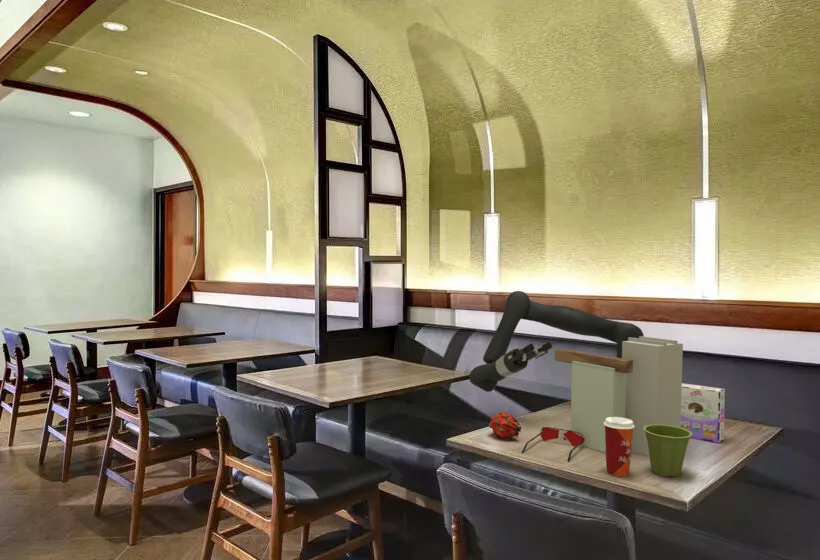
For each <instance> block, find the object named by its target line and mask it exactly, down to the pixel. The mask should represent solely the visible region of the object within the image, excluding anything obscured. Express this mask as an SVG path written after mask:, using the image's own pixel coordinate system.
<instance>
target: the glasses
mask: <svg viewBox="0 0 820 560" xmlns="http://www.w3.org/2000/svg"><path fill="white" fill-rule="evenodd" d="M560 431H565V432H564V433H563V434H562V435H563V436H564V437H563V441H568V442H569V443H570V445H572V446H573V448H571V449H570V451H569V454H568V457H567V461H568V462H567V461H566V462H567V463H570V461H571V457H572V453H573V452H574V450H576V448H578V447H579V446H582V445H581V444H584V441H585V439H584V438H583V436H582V435H581V434H580V433H579V434H580V435H581V436H582V437H581V436H580V435H578V434H576V433H578V432H576V433H574V431H571V429H570V430H569V429H568V430H567V429H562V428H561V429H560V428H556V427H549V426H543V427H542V428H541V429H540V433H538V434H537V435H535V436H534V437H532V438H530V439H529V440H528V441H526V442H525V444H524V447H523V448H522V451H521V454H524V453H525V451H526V448H527V446H528V445H529V443H531V442H532V441H534V440H535V439H537V438H538V437H539V436H540V437H541V439H542V441H543V440H544V442H545V441H546V442H547V441H551V440H558V438H559V434H560Z"/></svg>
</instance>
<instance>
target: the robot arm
mask: <svg viewBox="0 0 820 560" xmlns="http://www.w3.org/2000/svg"><path fill="white" fill-rule="evenodd" d="M504 306H505V307H504V311H503V314H502V317H501V319H500V321H499V324H498V326H497V327H496V330H495V332H494V334H493V336H492V338H491V340H490V341H489V344H488V346H487V348H486V350H485V352H484V355H483V357H482V360H483V362H484V364H480V365H478V366H475V367H474V368H473V369H471V371H470V373H469V377H468V380H469V381H470V383H471V384H472V385H473V386H475V387H477V388H479V389H480V390H483V391H485V392H488V393H489V392H492V391H494V390H495V389H496V388H497V385H498V382H500V381H503V380H504V379H507V378H508V377H511V376H514V375H515V374H517V373H519V372H520V371H523V370H524V369H526V368H527V366H528V363H529V362H530V361H533V360H534V359H535V360H536V359H537V360H538V359H539V358H541V357H543V356H544V355H547V354H549V350H551V349H552V348H553V345H552V342H551V341H548V342H546V343H544V344H542V345H540V346H535V344H533V343H528V345H526V346H524V347H520V348H513V349H511V350H510V351H508V350H509V349H508V348H509V347H510V343H511V341H512V339H513V335H514V334H515V330H516V329H517V326H518V324H519V323H520V321H521V320H525V321H531V322H536V323H539V324H542V325H545V326H548V327H552V328H554V329H558V330H560V331H564V332H568V333H572V334H575V335H578V336H579V335H580V336H585V337H586V336H588V337H596V338H601V339H604V340H607V341H610V342H613V343H615V344H616V355H615V357H616V358H622V341H628V338H629V337H631V338H639V336H642V337H645V336H644V332H643V330H642V329H641V328H640V326H637V325H636V324H634V323H631V322H624V321H618V320H612V319H607V318H604V317H601V316H598V315H596V314H593V313H590V312H587V311H585V310H583V309H579V308H574V307H571V306H566V305H555V304H554V305H552V304H543V303H540V302H536V301H533V300H531V299H530V297H529V295H528V294H527V293H526V292H524V291H521V290H515V291H513V292H511V293H510V294H509V295H508V296H507V298H506V300H505V305H504ZM507 351H508V352H507Z"/></svg>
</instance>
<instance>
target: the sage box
mask: <svg viewBox="0 0 820 560" xmlns="http://www.w3.org/2000/svg"><path fill="white" fill-rule="evenodd" d="M570 394H571V395H570V396H571V397H570V400H571V401H570V403H571V404H570V430H571V431H574V433H576V432H578V433H576V434H578V435H580V434H581V435H582V436H583V438H584V439H585V441H584V444H581V445H580V446H582V445H583V447H585V448H589V449H592V450H596V451H598V452H602V453H604V454H606V444H605V425H604V422H605V419H606V418H608V417H622V418H625V406H626V373H620V372H615V368H610V367H604V366H599V365H593V364H588V363H582V362H576V361H572V363H571V393H570ZM579 433H580V434H579ZM581 435H580V436H581ZM582 436H581V437H582Z"/></svg>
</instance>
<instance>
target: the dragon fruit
mask: <svg viewBox="0 0 820 560" xmlns="http://www.w3.org/2000/svg"><path fill="white" fill-rule="evenodd" d="M488 428H490V429H491V430H492V433H493V436H494V437H500V438H502V439H504V440H505V441H512V440H513V439H512V438H511V437H516V438H517V437H519V435H520V433H522V431H521V430H522V426H521V424H520V423H519V421H518V420H517V418H515V417H513V416H512V415H511V414H510V413H508V412H503V411H500V412H496V413H495V414H494V415H493V416H492V417H491V418H490V421H489V424H488Z"/></svg>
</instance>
